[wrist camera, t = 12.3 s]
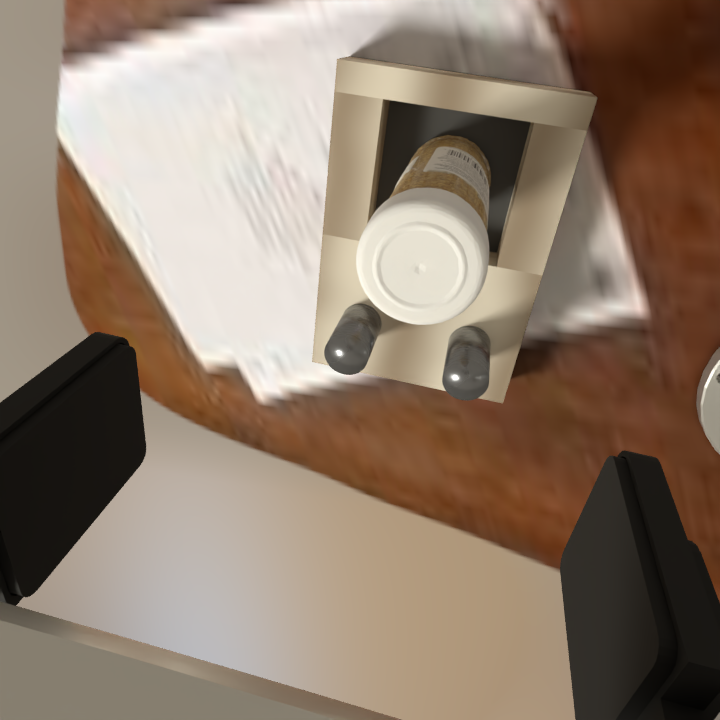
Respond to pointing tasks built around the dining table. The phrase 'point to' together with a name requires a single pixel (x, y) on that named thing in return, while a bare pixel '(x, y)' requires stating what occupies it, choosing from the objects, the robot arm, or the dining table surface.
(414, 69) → the cream square frame
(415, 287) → the sprinkles bottle
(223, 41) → the dining table surface
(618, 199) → the dining table surface
